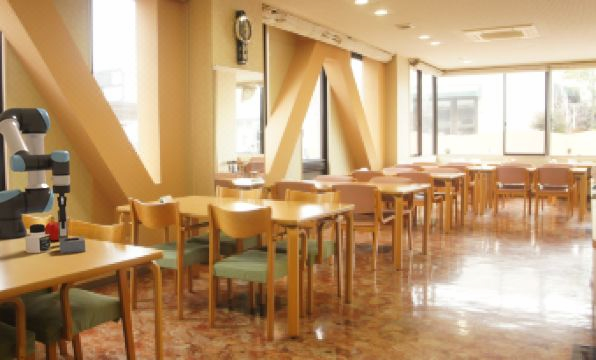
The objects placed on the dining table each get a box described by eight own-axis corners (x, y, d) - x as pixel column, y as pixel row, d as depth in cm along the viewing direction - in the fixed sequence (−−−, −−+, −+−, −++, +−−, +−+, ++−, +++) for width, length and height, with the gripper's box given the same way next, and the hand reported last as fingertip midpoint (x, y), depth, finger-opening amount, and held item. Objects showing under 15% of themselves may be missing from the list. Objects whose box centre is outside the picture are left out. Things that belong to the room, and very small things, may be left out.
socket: (59, 249, 245) (59, 238, 244) (83, 247, 249) (83, 236, 248) (60, 254, 236) (59, 242, 235) (85, 251, 240) (84, 240, 239)
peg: (58, 239, 256) (57, 210, 254) (68, 239, 257) (66, 209, 256) (58, 241, 252) (57, 211, 251) (68, 240, 254) (67, 210, 252)
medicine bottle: (40, 253, 237) (39, 225, 236) (25, 252, 239) (24, 225, 238) (50, 250, 244) (49, 223, 243) (36, 249, 246) (35, 222, 245)
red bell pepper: (50, 238, 272) (49, 220, 272) (72, 238, 272) (71, 220, 271) (39, 242, 262) (39, 224, 261) (62, 242, 261) (61, 224, 261)
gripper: (52, 182, 258) (54, 231, 261) (52, 186, 243) (54, 238, 245) (69, 182, 261) (71, 230, 264) (70, 186, 246) (72, 237, 248)
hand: (63, 234), depth 255 cm, fingers closed on peg, 4 cm apart
